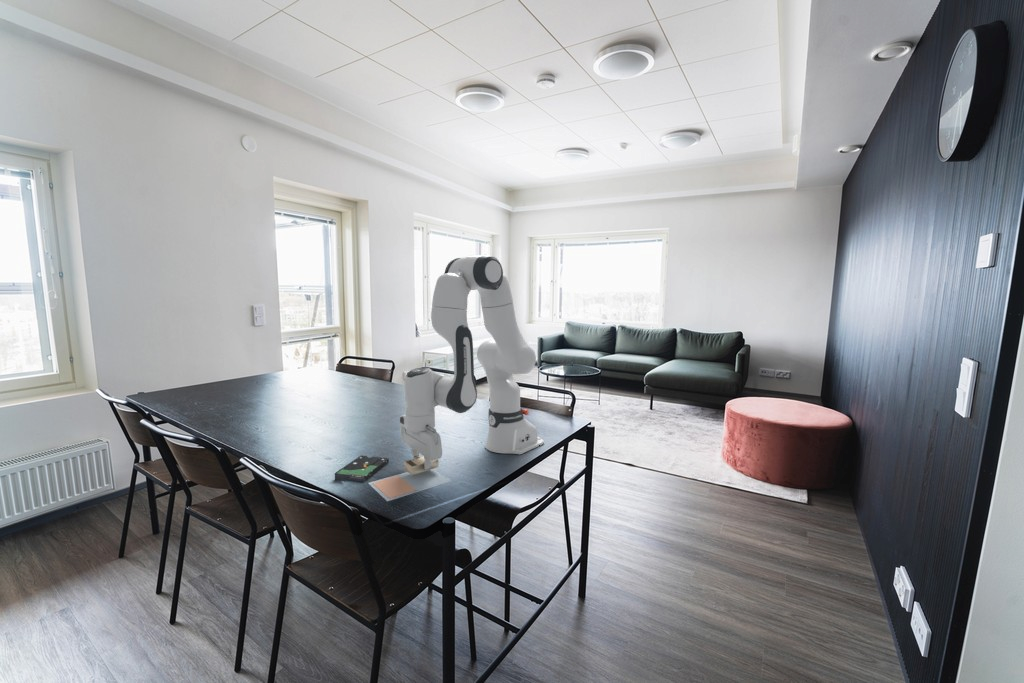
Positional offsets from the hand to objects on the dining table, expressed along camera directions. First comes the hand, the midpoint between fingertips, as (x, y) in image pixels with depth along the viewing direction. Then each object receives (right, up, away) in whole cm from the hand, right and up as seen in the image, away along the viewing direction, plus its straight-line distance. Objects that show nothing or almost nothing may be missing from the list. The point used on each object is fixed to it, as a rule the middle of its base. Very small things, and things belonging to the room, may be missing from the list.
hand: (421, 464), depth 132 cm
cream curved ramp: (0, -1, 0) cm, 1 cm away
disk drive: (-19, -4, +2) cm, 19 cm away
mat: (-2, -4, -6) cm, 7 cm away
